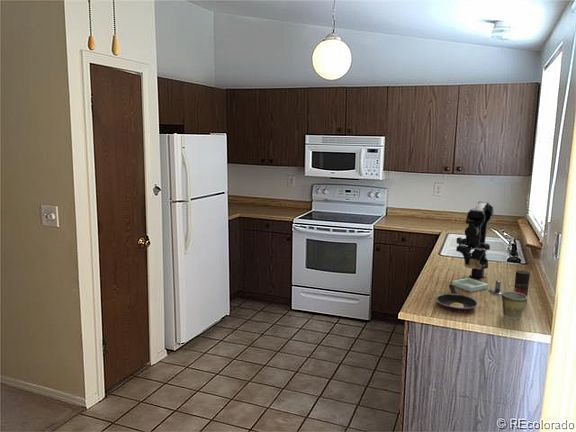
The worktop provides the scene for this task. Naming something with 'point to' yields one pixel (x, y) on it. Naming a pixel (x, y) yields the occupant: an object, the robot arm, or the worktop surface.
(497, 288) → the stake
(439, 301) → the frying pan
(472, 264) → the ring
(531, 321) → the worktop surface
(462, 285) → the tray
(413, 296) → the worktop surface
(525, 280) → the deodorant
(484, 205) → the robot arm
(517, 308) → the ceramic cup
